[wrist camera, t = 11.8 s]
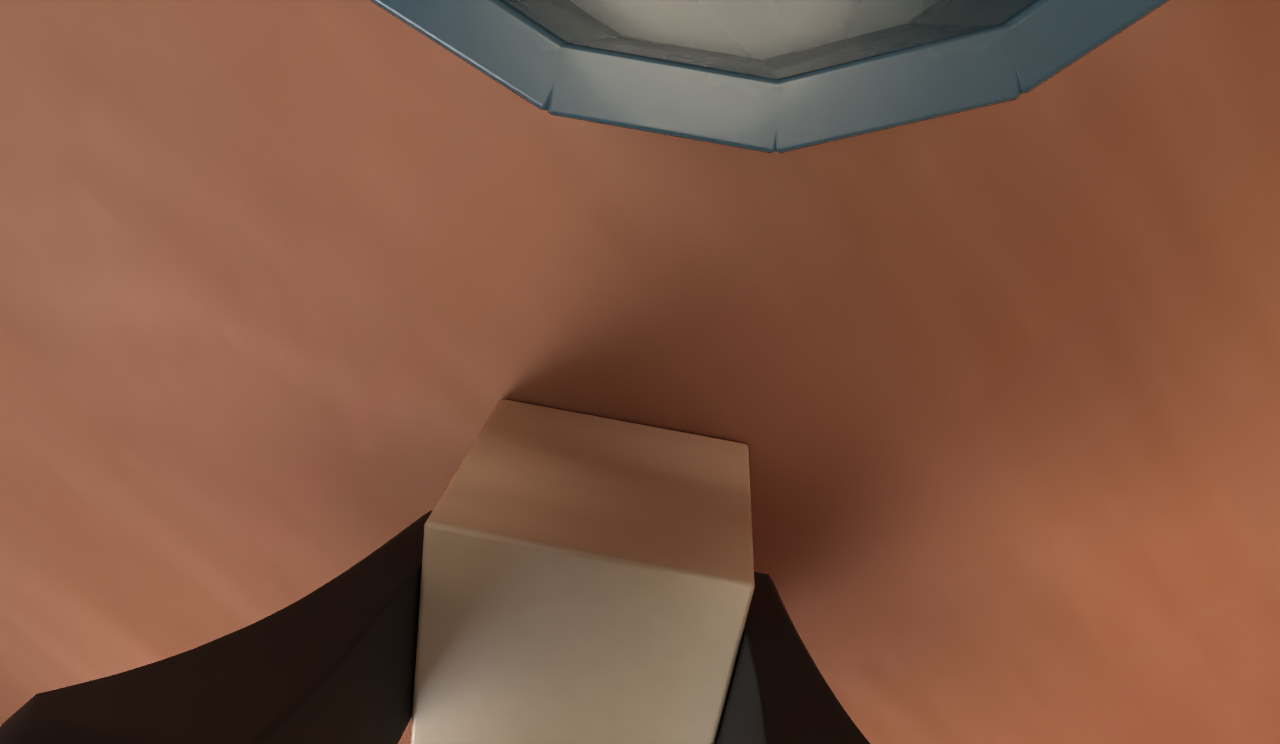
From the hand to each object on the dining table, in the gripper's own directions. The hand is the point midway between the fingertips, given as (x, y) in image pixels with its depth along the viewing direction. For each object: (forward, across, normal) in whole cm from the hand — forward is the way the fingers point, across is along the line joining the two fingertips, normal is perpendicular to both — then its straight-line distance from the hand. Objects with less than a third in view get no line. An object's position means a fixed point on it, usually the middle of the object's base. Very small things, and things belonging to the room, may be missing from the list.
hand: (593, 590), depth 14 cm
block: (+2, 0, 0) cm, 2 cm away
